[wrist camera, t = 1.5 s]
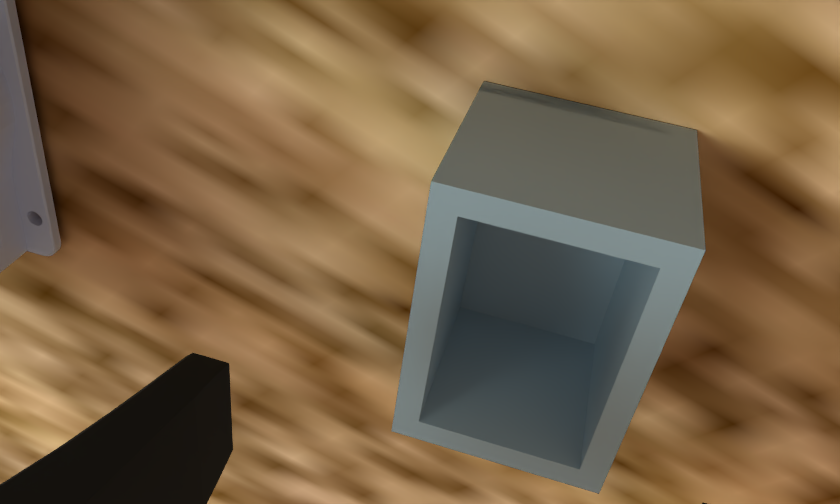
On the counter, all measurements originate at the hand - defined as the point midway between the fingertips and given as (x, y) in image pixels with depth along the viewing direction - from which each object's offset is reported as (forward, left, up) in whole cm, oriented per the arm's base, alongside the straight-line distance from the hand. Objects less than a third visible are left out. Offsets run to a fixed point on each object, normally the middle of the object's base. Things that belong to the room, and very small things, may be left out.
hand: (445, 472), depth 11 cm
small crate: (-1, -1, -10) cm, 10 cm away
